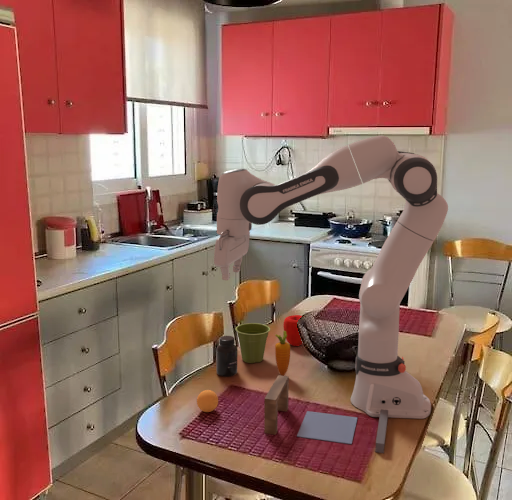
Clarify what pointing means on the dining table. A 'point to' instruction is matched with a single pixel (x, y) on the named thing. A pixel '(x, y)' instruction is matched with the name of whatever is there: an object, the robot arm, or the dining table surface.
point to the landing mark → (328, 427)
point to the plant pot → (252, 341)
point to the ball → (207, 400)
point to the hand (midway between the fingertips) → (231, 275)
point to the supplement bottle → (226, 357)
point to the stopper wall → (381, 431)
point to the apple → (292, 330)
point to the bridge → (275, 403)
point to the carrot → (282, 354)
